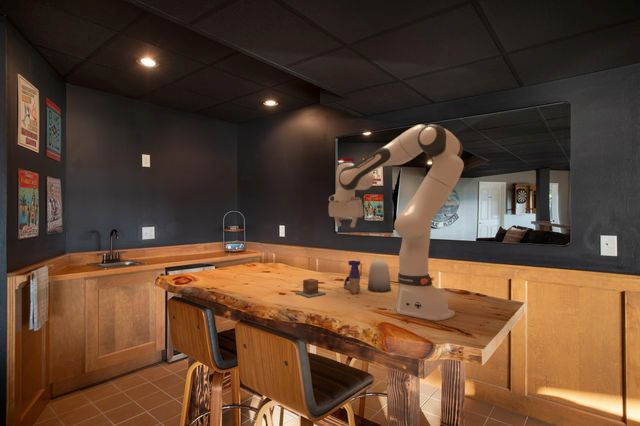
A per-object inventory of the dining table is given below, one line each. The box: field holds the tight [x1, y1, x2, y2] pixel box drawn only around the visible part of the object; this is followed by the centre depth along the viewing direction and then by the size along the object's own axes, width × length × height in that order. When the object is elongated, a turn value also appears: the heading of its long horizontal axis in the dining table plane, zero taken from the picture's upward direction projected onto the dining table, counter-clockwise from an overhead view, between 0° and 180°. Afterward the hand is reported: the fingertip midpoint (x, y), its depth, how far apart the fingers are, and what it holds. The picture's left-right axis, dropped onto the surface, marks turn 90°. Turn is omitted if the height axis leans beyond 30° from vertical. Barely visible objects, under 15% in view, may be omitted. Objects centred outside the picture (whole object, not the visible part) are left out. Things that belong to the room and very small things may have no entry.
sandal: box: [343, 260, 361, 295], centre depth 177 cm, size 8×20×15 cm, turn 175°
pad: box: [295, 290, 327, 299], centre depth 168 cm, size 10×10×1 cm
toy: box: [367, 258, 392, 293], centre depth 177 cm, size 11×11×15 cm
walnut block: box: [302, 278, 319, 295], centre depth 168 cm, size 5×5×6 cm
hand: (345, 226), depth 171 cm, fingers open, 8 cm apart
